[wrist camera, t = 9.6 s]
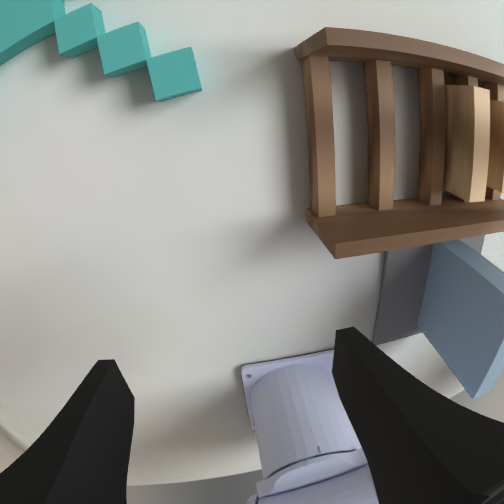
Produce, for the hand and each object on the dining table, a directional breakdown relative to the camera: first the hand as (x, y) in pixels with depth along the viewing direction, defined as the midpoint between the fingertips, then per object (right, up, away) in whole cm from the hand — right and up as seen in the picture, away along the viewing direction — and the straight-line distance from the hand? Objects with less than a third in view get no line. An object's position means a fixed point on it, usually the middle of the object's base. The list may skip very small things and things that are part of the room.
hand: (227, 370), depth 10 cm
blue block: (+15, +1, +13) cm, 20 cm away
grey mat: (+15, +1, +13) cm, 20 cm away
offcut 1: (+14, +12, +8) cm, 20 cm away
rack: (+11, +11, +8) cm, 18 cm away
